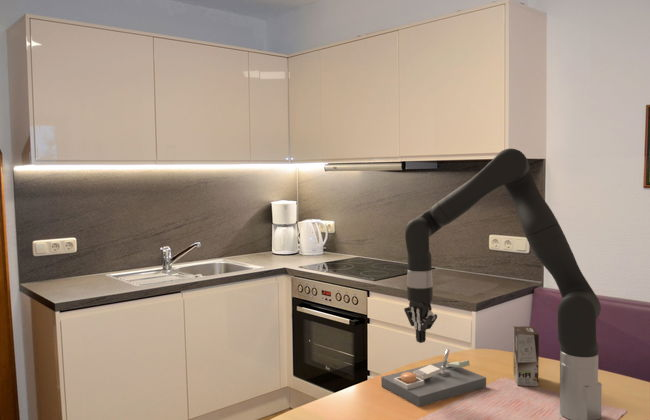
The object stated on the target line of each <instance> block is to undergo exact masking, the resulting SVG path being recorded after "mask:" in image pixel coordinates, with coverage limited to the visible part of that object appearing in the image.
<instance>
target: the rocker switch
mask: <svg viewBox="0 0 650 420" xmlns="http://www.w3.org/2000/svg"><path fill="white" fill-rule="evenodd" d="M425 366H426V365H425ZM413 373H414V374H416V377H418V378H420V379H422V380H424V379H426V378H429V377H431V376H434V375H436V374H438V373H441V371H440V368H437V367H435V366H433V365H430V364H428V366H426V367H423V368H421V369H418V370H415V371H414V372H413Z"/></svg>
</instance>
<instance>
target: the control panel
mask: <svg viewBox="0 0 650 420" xmlns="http://www.w3.org/2000/svg"><path fill="white" fill-rule="evenodd" d="M448 363H451V362H450V361H447V363H446V367H445V368H446V369H445V370H444V371H443V370H441V367H442V364H443V360H442V361H438V362H435V363H431V364H428V365H433V366H435V367H437V368H440V371H441V373H438V374H436V375H434V376H431V377H429V378H426V379H424V380H422V379H420V378H418V377H416V382H413V383H410V384H406V383H404V382H402V381H401V374H402V373H406V372H410V373H413V372H414V371H415V370H418V369H421V368H423V367H426V366H428V365H427V364H426V365H424V366H419V367H414V368H411V369H408V370H403V371H399V372H396V373H391V374H387V375H384V376H381V378H380V379H381V387H382V388H384V389H386V390H387V391H389V392H391V393H393V394H395V395H396V396H398V397H400V398H402V399H404V400H405V401H407V402H409V403H411V404H413V405H415V406H416V407H418V408H421V407H424V406H427V405H431V404H433V403H437V402H441V401H445V400H448V399H451V398H454V397H458V396H461V395H464V394H468V393H471V392H475V391H477V390H482V389H485V388H487V377H486V376H483V375H480V374H479V373H476V372H474V371H472V370H469V369H467V368H465V367H462V368H459V367H451V366H448ZM484 387H485V388H484Z"/></svg>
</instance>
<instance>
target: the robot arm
mask: <svg viewBox="0 0 650 420" xmlns="http://www.w3.org/2000/svg"><path fill="white" fill-rule="evenodd" d="M502 186H504V187H505V189H506V190H507V192H508V194H509V196H510V197H511V200H512V202H513V203H514V206H515V210H516V212H517V216H518V220H519V222H520V226H521V228H522V232H523V233H524V236H525V237H526V241H527V242H528V244H529V246H530V248H531V250H532V252H533V253H534V256H535V257H536V258H537V259H538V261H539V262H540V263H541V264H542V265H543V266H544V268H545V269H546V270H547V272H548V273H549V274H550V275H551V276H552V278H553V280H554V282H555V284H556V286H557V288H558V290H559V293H560V296H561V298H562V299H561V300H560V301H559V304H558V307H557V338H558V342H559V413H560V415H561V416H562V417H563V418H565V419H568V420H600V419H601V418H602V387H603V385H602V382H600V381H599V343H598V341H597V319H598V318H599V316H600V314H601V311H602V309H601V307H602V306H601V302H600V300H599V297H598V296H597V295H596V293H595V291H594V290H593V288H592V287H591V285H590V284H589V282H588V280H587V279H586V277H585V276H584V274H583V272H582V270H581V269H580V266H579V265H578V263H577V260H576V258H575V255H574V253H573V250H572V249H571V246H570V244H569V242H568V239H567V238H566V235H565V233H564V231H563V229H562V227H561V226H560V223H559V221H558V219H557V218H556V216H555V214H554V212H553V211H552V209H551V208H550V206H549V205H548V203H547V202H546V200H545V199H544V197H543V196H542V194H541V192H540V191H539V189H538V186H537V184H536V182H535V179H534V177H533V174H532V171H531V167H530V163H529V160H528V158H527V157H526V155H525V154H524V153H523V152H522V151H521V150H519V149H517V148H516V149H515V148H505V149H503V150H501V151H500V152H498V153H497V155H495V157H494V158H492V160H491V161H489V162H488V163H487V164H486V165H485V166H484V167H483V168H482V169H481V170H480V171H479V172H477V173H476V174H475V175H474V176H472V177H471V178H470V179H468V180H467V181H466V182H465V183H463V184H461V185H460V186H458V187H457V188H456V189H454V190H453V191H451V192H450V193H448V194H447V195H446V196H444V197H442V198H441V199H440V200H439V201H437V202H435V203H434V204H433V205H432V206H431V208H429V209H428V210H426V211H424V212H422V213H421V214H420V215H418V216H417V217H414V218H413V219H411V220H409V221H408V223H407V224H406V225H405V229H404V231H405V235H404V238H405V244H406V245H405V246H406V252H407V274H406V289H407V290H406V295H407V297H406V298H407V301H409V303H408V307H405V308H404V313H405V316H406V317H407V319H408V321H409V322H408V323H409V324H410V326H411V327H413V328H414V330H415V339H416V342H417V343H419V344H422V343H425V342H426V340H427V339H426V337H427V336H426V331H427V330H429V329H431V328H432V327H433V325H434V323H435V322H436V320H437V319H438V315H437V314H436V313H434V312H433V311H432V309H433V308H432V305H431V303H432V301H433V300H434V283H433V271H432V265H433V264H432V254H431V251H430V237H431V236H433V235H434V234H435V233H436V232H438V231H439V230H441V229H442V228H443V227H445V226H447V225H449V224H450V223H452V222H454V221H455V220H456V219H458V218H459V217H462V215H464V214H465V213H466V212H468V211H469V210H470V209H472V208H473V207H474V206H475V205H476V204H477V203H478V202H480V200H482V198H484V197H485V196H487V195H489V194H490V193H491V192H493V191H494V190H496V189H498V188H500V187H502Z"/></svg>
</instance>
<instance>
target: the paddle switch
mask: <svg viewBox="0 0 650 420" xmlns="http://www.w3.org/2000/svg"><path fill="white" fill-rule="evenodd" d="M448 366H451V367H459V368H465V367H469V366H470V360H468V359H466V360H463V361H452V362H450V363H448Z"/></svg>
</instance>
